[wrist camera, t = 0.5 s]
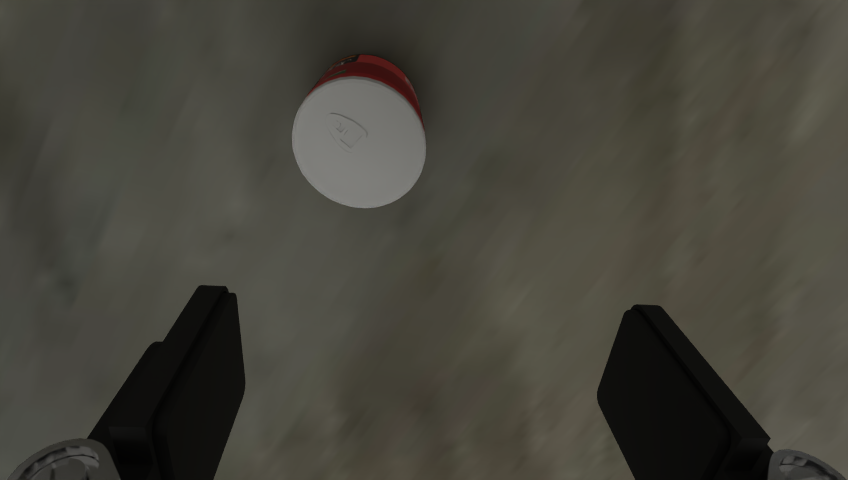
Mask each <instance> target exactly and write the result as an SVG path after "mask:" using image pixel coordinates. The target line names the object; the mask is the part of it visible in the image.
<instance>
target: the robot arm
mask: <svg viewBox="0 0 848 480" xmlns="http://www.w3.org/2000/svg"><path fill="white" fill-rule="evenodd" d="M244 391H245V373H244V363H243V354H242V344H241V334H240V325H239V315H238V305H237V297H236V294H235V293H229V292H228V289H227V287H226V286H207V285H200V286H199V287H198V288H197V289H196V291H195V292H194V294H193V295H192V297H191V298H190V300H189V302H188V303H187V305H186V306H185V308H184V309H183V311H182V312H181V314H180V316H179V317H178V319H177V320H176V322H175V323H174V325H173V327H172V328H171V330H170V331H169V333H168V334H167V336H166V337H165V339H164V341H163V342H154V343H152V344H151V345H150V346H149V347H148V348H147V350H146V351H145V353H144V354H143V356H142V357H141V359H140V360H139V362H138V363H137V365H136V366H135V368H134V369H133V371H132V372H131V374H130V375H129V377H128V378H127V380H126V381H125V383H124V384H123V386H122V387H121V389H120V390H119V392H118V393H117V394H116V396H115V397H114V399H113V400H112V402H111V403H110V405H109V406H108V408H107V409H106V411H105V412H104V414H103V415H102V417H101V418H100V420H99V421H98V423H97V424H96V426H95V427H94V429H93V430H92V432H91V433H90V435H89V436H88V438H87V439H82V438H78V439H72V440H65V441H62V442H59V443H56V444H53V445H50V446H48V447H46V448H44V449H42V450H40V451H38V452H36V453H35V454H33V455H31V456H30V457H29V458H28V459H26V460H25V461H24V462H22V463H21V464H20V465H19V466H18V467H17V468H16V469H15V470H14V471H13V472H12V474H11V475H10V476H9V477H8V479H7V480H213V479H214V476H215V473H216V470H217V468H218V465H219V462H220V459H221V457H222V454H223V451H224V448H225V446H226V443H227V440H228V437H229V434H230V432H231V429H232V426H233V423H234V421H235V418H236V415H237V412H238V410H239V407H240V404H241V401H242V399H243V395H244ZM597 400H598V404H599V406H600V408H601V410H602V412H603V415H604V417H605V419H606V421H607V423H608V425H609V427H610V429H611V431H612V433H613V435H614V437H615V439H616V441H617V443H618V445H619V447H620V449H621V451H622V453H623V455H624V457H625V459H626V462H627V464H628V466H629V468H630V470H631V472H632V474H633V476H634V478H635V480H846V479H845V478H844V477H843V476H842V475H841V474H840V473H839V472H838V471H836V470H835V469H834V468H832V467H831V466H830V465H828V464H826V463H825V462H823V461H821V460H819V459H818V458H816V457H814V456H811V455H809V454H806V453H803V452H800V451H795V450H790V449H786V450H778V451H777V452H775V453H774V452H773V451H772V450H771V449H770V447H769V446H768V445H767V444H768V442H769V440H770V439H771V438H770V437H769V436H768V435H767V433H766V432H765V431H764V430H763V429H762V427H761V426H760V425H759V424H758V423H757V421H756V420H755V419H754V418H753V417H752V415H751V414H750V413H749V412H748V411H747V409H746V408H745V407H744V406H743V404H742V403H741V402H740V401H739V400H738V398H737V397H736V396H735V395H734V394H733V392H732V391H731V390H730V389H729V388H728V386H727V385H726V384H725V383H724V382H723V380H722V379H721V378H720V377H719V376H718V374H717V373H716V372H715V371H714V370H713V368H712V367H711V366H710V365H709V364H708V362H707V361H706V360H705V359H704V358H703V356H702V355H701V354H700V353H699V352H698V350H697V349H696V348H695V347H694V345H693V344H692V343H691V342H690V341H689V339H688V338H687V337H686V336H685V335H684V333H683V332H682V331H681V330H680V329H679V327H678V326H677V325H676V324H675V323H674V321H673V320H672V319H671V318H670V317H669V315H668V314H667V313H666V312H665V311H664V309H663V308H662V307H660V306H658V305H638V304H636V305H634V306H633V307H632V308H631V310H627V311H626V312H625V313H624V315H623V318H622V321H621V324H620V327H619V329H618V332H617V335H616V338H615V341H614V344H613V347H612V350H611V353H610V356H609V358H608V361H607V364H606V367H605V370H604V373H603V376H602V379H601V382H600V384H599V387H598V391H597Z"/></svg>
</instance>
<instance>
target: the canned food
mask: <svg viewBox="0 0 848 480" xmlns="http://www.w3.org/2000/svg"><path fill="white" fill-rule="evenodd" d="M292 144H293V151H294V155H295V158H296V161H297V163H298V166H299V168H300V170H301V172H302V173H303V175H304V176H305V177H306V179H307V180H308V181H309V183H310V184H311V185H312V186H313V187H314V188H316V189H317V190H318V191H319V192H320V193H322V194H323V195H325V196H326V197H328V198H329V199H331V200H333V201H335V202H338V203H340V204H343V205H347V206H351V207H357V208H373V207H379V206H383V205H386V204H389V203H391V202H393V201H395V200H397V199H399V198H401V197H402V196H403V195H404V194H406V193H407V192H408V191H409V190H410V189H411V188H412V186H413V185H414V184H415V183H416V182H417V180H418V178H419V176H420V174H421V172H422V169H423V165H424V162H425V157H426V138H425V131H424V125H423V121H422V116H421V112H420V108H419V104H418V100H417V96H416V93H415V90H414V88H413V86H412V84H411V83H410V81H409V79H408V78H407V77H406V76H405V74H404V73H403V72H402V71H401V70H400V69H399V68H397V67H396V66H395V65H394V64H392V63H390V62H388V61H387V60H385V59H382V58H379V57H376V56H372V55H354V56H350V57H347V58H344V59H341V60H340V61H338V62H336V63H335V64H333V65H332V66H331V67H330V68H329V69H328V70H327V71H326V72H325V73H324V75H323V76H322V77H321V78H320V80H319V81H318V82H317V83H316V85H315V86H314V87H313V88H312V90H311V91H310V92H309V93H308V95H307V96H306V98H305V99H304V101H303V102H302V104H301V106H300V107H299V109H298V112H297V114H296V117H295V120H294V124H293V131H292Z"/></svg>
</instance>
